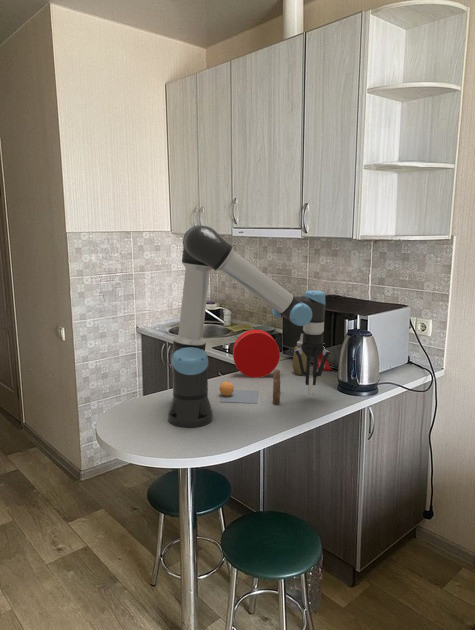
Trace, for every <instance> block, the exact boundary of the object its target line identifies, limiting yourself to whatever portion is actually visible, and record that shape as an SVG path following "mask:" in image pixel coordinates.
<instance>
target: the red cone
mask: <svg viewBox="0 0 475 630" xmlns="http://www.w3.org/2000/svg"><path fill="white" fill-rule="evenodd" d="M324 349H325V347H324ZM322 357H323V351H322V352H321V354H320V355H319V356H318V357H317V369H319V366H320V363H321V360H322ZM323 370H324V371H323V372H325V371H326V372H331V371H330V370H332V369H331V368H330V367H329V363H328V360H327V358H326V361H325V365H324V368H323ZM332 371H333V370H332Z"/></svg>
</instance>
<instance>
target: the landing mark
mask: <svg viewBox="0 0 475 630" xmlns="http://www.w3.org/2000/svg"><path fill="white" fill-rule="evenodd" d="M259 392H260V391H259V390H254V389H253V390H252V389H251V390H249V389H234V391H233V393H232V394H231V395H230V396H224V395H222V394H221V395H220V400H219V403H233V404H234V403H235V404H255V405H256V404H258V399H259Z"/></svg>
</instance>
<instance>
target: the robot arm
mask: <svg viewBox="0 0 475 630" xmlns="http://www.w3.org/2000/svg"><path fill="white" fill-rule="evenodd" d="M182 247H183V248H182V249H183V250H182V257H181V259H182V260H181V264H182V266H184V268H185V269H184V279H183V280H184V281H183V288H182V297H181V307H180V315H179V316H180V317H179V327H178V334H177V335H176V336H175V337H174V338H173V341H172V350H171V353H170V364H171V370H172V399H171V403H170V406H169V408H168V412H167V421H168V422H169V423H170V424H171V425H174V426H176V427H182V428H199V427H202V426H203V427H204V426H206V425H208V424H210V423H211V422H212V421H213V419H214V416H213V415H214V413H213V411H214V410H213V409H212V406H211V402H210V399H209V395H208V394H209V392H208V390H209V384H208V381H209V378H208V377H209V376H208V375H209V372H208V371H209V369H208V368H209V357H208V353H207V352H206V345H207V341H206V340H205V339H204V337H203V336H204V335H203V333H204V326H205V325H204V324H205V319H206V310H207V300H208V292H209V291H208V290H209V283H210V273H211V270H214V271H217V272H218V271H220V272H221V273H223V274H224V275H226V276H227V277H229V278H230V279H232V280H233V281H235V282H236V283H238V285H240V286H242V287H243V288H244V289H245V290H247V291H248V292H250V293H251V294H252V295H254V296H255V297H256V298H259V300H261V301H263V302H264V303H266V305H268V306H269V307H271V314H272V315H273V317H275V318H285V319H287V320H288V321H290V322H291V323H292V324H293V325H295V326H298V327H299V326H300V327H302V331H303V333H302V334H303V343H302V345H301V348H299V349H296V350H295V353H296V354H297V356H298V359H299V364H300V369H301V374H302V375H301V376H304V377H305V382H304V383H305V386H307V394H308V395H313V390H314V389H313V387H314V386H316V385H317V384H316V383H317V377H321V376H322V373H323V372H324V371H323V368H324V365H325V361H326V358H327V357H328V355H329V354H330V353H329V351H328V350H326V349H324V346H323V344H324V331H325V312H326V293H325V292H324V291H322V290H316V289H315V290H314V289H313V290H311V289H310V290H306V291H305V292H304V295H303V296H302V295H301V296H294V295H293V294H292V293H291V292H289V291H288V290H287V289H285V288H284V287H283V286H281V285H280V284H278V283H277V282H276V281H275V280H273V279H272V278H271V277H269V276H268V275H266V273H264V272H262V271H261V270H260V269H258V268H257V267H256V266H255V265H253V264H252V263H251V262H249V261H248V260H246V259H245V258H244V257H242V256H241V255H239V254H238V253H237V252H236V251H235V249H234V246H232V244H230V243H229V242H227V240H225V239H224V238H223V237H222V236H221V235H220V234H219V233H218V232H217V231H216V230H215V229H214V228H212V227H211V226H207V225H203V224H201V225H200V224H198V225H193V226H192V227H190V228H188V230H186V232H185V233H184V235H183V238H182ZM302 351H303V352H304V353H305V355H306V356H307V360H306V372H305V371H304V368H303V363H302V358H301V354H302ZM322 351H323V357H322V360H321V363H320V366H319V369H318V356H319V355H320V354H321V352H322ZM311 358H313V359H312V361H313V363H312V375H310V372H311V371H310V370H311V366H310V365H311ZM317 369H318V370H317Z"/></svg>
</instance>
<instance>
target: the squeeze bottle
mask: <svg viewBox="0 0 475 630" xmlns="http://www.w3.org/2000/svg"><path fill="white" fill-rule="evenodd" d="M302 343H303V333H301V334H300V337H299V340H298V341H296V346H294V349H293V350H294V351H293V355H292V356H293V357H292V365H291V366H292V370H293V373H294V374H295V375H299V376H303V375H302V374H301V369H300V364H299V359H298V356H297V354H296V353H295V350H296V349H299V348H301V345H302ZM301 358H302V363H303V368H304V371H305V372H306V360H307V356H306V355H305V353H304V352H303V351H302V354H301ZM310 367H311V364H310Z"/></svg>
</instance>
